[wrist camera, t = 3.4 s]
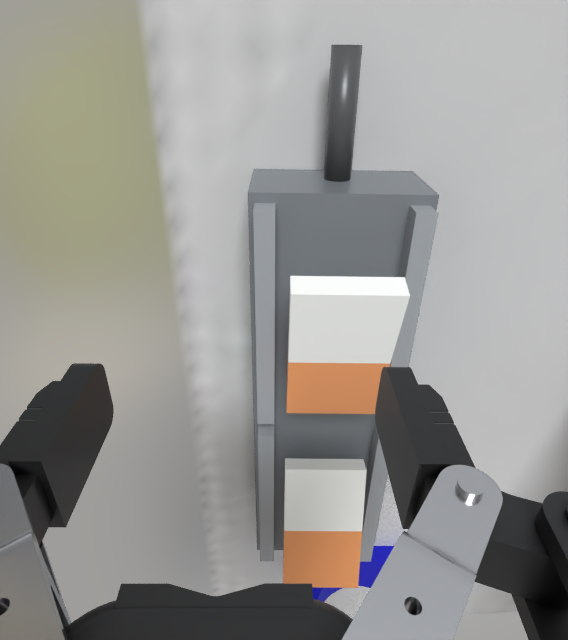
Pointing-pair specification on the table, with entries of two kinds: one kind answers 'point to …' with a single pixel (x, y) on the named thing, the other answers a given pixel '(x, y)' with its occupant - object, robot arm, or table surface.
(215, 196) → the table surface
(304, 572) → the block
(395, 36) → the table surface
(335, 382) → the rocker
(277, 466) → the box
